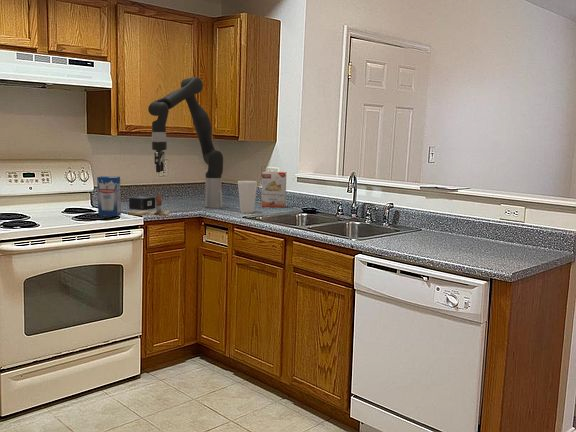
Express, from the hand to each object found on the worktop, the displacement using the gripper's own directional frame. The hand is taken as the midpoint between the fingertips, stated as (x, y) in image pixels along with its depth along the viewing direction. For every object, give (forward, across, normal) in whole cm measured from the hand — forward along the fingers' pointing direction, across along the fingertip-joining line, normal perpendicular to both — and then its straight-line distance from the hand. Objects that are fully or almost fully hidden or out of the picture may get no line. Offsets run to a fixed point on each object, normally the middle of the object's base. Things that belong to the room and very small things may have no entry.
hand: (159, 171), depth 320 cm
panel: (+22, +1, -6) cm, 23 cm away
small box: (+19, -18, -10) cm, 28 cm away
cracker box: (+24, -37, +60) cm, 74 cm away
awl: (+21, +1, -1) cm, 21 cm away
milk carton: (+22, +10, -25) cm, 35 cm away
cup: (+23, -12, +45) cm, 52 cm away
